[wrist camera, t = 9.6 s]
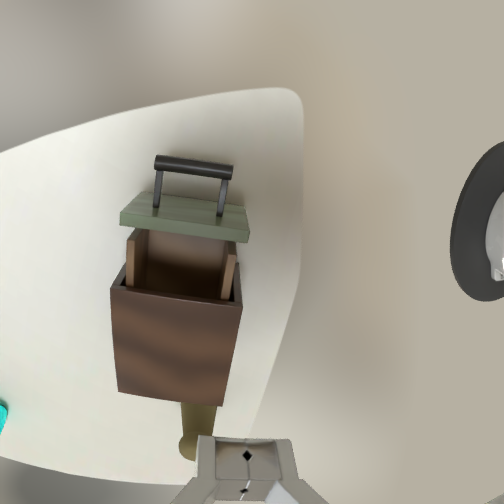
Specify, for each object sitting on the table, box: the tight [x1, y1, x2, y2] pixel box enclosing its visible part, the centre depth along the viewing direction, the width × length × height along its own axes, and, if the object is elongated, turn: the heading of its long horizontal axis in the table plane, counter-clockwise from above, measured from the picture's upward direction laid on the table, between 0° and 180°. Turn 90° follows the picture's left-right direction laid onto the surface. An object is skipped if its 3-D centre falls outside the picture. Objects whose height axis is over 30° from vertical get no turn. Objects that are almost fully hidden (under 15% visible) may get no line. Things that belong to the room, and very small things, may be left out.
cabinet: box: [110, 262, 243, 407], centre depth 36 cm, size 15×13×10 cm
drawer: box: [120, 155, 250, 301], centre depth 32 cm, size 18×11×8 cm, turn 169°
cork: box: [179, 402, 217, 461], centre depth 43 cm, size 6×6×11 cm
